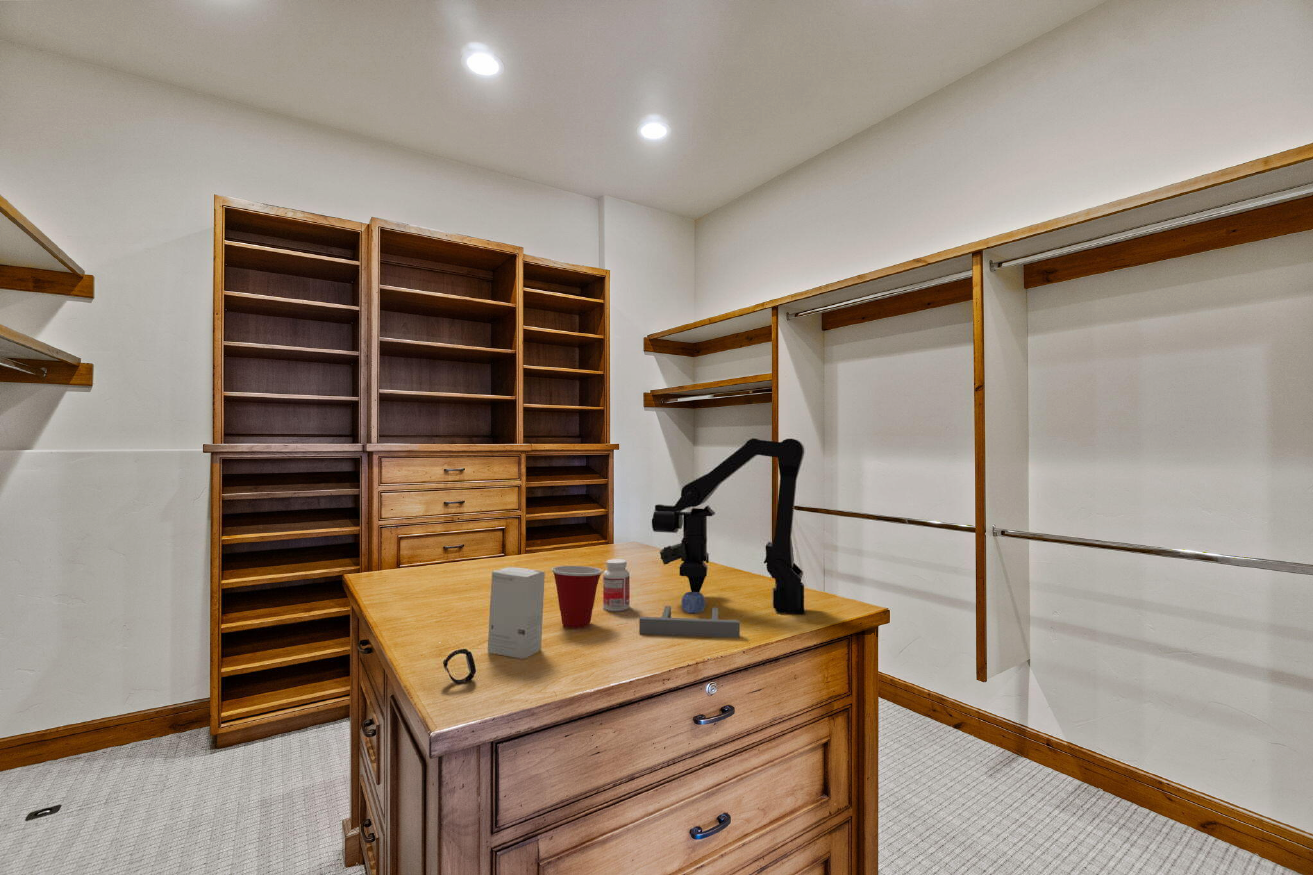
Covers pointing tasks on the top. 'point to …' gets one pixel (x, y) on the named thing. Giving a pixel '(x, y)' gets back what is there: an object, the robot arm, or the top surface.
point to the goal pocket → (689, 626)
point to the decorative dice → (693, 602)
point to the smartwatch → (469, 661)
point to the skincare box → (516, 612)
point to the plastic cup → (576, 593)
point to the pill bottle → (616, 586)
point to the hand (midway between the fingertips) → (694, 598)
